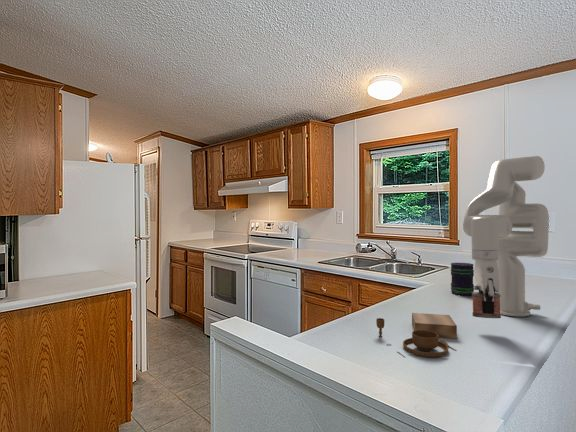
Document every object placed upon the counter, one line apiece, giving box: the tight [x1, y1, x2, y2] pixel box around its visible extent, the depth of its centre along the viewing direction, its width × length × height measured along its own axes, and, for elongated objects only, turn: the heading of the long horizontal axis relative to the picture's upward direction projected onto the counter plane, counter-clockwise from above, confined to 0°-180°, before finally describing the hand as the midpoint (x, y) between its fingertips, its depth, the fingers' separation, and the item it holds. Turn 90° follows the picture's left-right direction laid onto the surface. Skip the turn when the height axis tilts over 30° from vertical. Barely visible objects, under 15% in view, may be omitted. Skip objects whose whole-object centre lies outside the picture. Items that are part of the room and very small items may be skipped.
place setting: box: [375, 317, 458, 359], centre depth 102 cm, size 18×20×6 cm
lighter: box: [471, 285, 502, 319], centre depth 111 cm, size 8×3×10 cm, turn 71°
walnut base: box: [411, 312, 458, 340], centre depth 113 cm, size 12×12×4 cm
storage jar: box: [450, 262, 475, 297], centre depth 165 cm, size 10×10×15 cm
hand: (486, 310), depth 112 cm, fingers closed on lighter, 3 cm apart
